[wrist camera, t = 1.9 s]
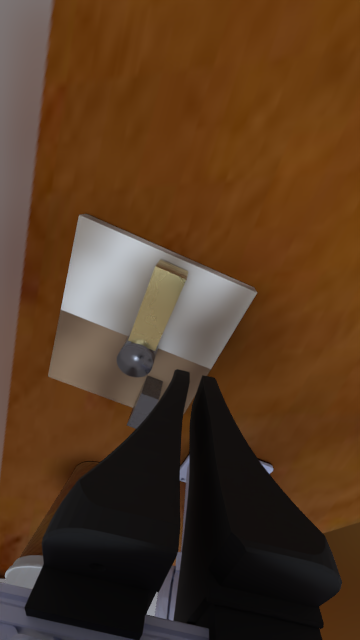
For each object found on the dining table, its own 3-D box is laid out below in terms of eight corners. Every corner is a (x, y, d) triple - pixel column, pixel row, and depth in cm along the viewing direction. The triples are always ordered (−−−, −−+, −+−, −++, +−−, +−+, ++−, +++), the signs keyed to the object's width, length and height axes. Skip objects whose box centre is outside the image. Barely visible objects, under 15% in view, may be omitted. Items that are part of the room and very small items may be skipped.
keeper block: (163, 381, 23) (158, 400, 21) (148, 411, 25) (142, 431, 23) (147, 375, 23) (141, 393, 21) (133, 405, 25) (126, 425, 23)
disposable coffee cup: (78, 442, 30) (8, 575, 20) (144, 473, 32) (113, 612, 21) (54, 477, 34) (-15, 603, 24) (113, 503, 36) (74, 633, 25)
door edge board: (254, 287, 19) (257, 292, 18) (178, 415, 26) (177, 424, 25) (86, 213, 18) (79, 214, 17) (54, 368, 25) (47, 376, 24)
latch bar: (152, 362, 22) (145, 382, 19) (122, 351, 21) (112, 369, 19) (192, 273, 18) (190, 284, 15) (156, 257, 17) (149, 266, 15)
